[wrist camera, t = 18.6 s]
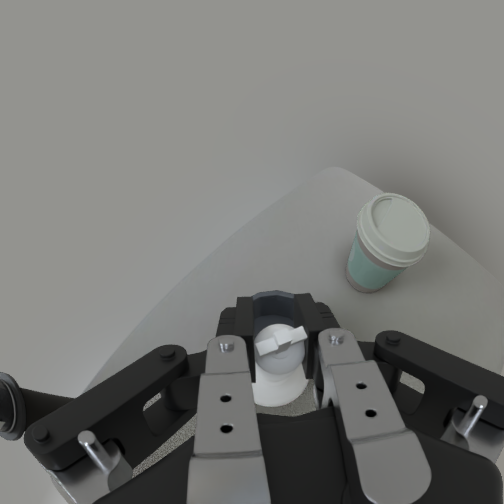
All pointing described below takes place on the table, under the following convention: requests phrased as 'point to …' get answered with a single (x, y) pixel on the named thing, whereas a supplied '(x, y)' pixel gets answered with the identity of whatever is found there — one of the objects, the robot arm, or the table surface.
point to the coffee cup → (386, 241)
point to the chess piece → (279, 365)
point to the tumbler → (272, 309)
